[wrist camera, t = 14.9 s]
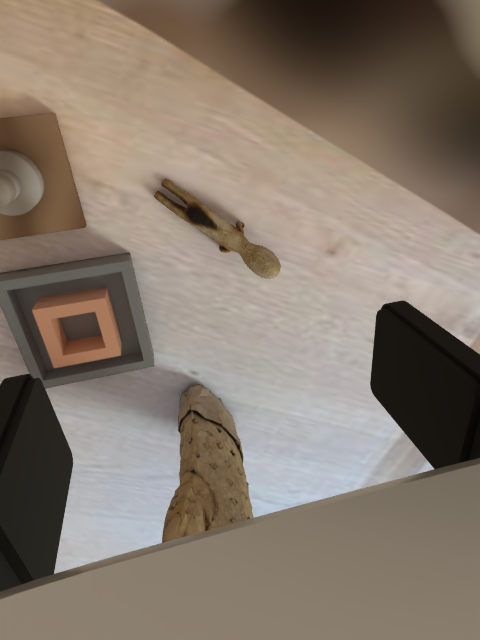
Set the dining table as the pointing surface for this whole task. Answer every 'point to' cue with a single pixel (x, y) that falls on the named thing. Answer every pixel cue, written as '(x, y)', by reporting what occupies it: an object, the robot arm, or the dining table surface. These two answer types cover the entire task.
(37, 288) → the tray
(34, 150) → the brown piece
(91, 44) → the dining table surface
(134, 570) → the robot arm
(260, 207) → the dining table surface
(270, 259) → the figurine
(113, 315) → the ring
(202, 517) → the tan log
